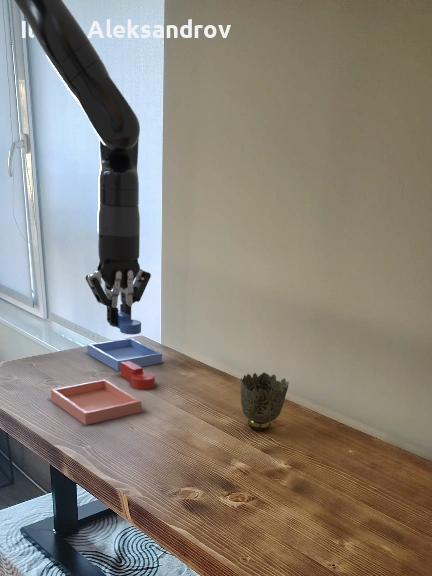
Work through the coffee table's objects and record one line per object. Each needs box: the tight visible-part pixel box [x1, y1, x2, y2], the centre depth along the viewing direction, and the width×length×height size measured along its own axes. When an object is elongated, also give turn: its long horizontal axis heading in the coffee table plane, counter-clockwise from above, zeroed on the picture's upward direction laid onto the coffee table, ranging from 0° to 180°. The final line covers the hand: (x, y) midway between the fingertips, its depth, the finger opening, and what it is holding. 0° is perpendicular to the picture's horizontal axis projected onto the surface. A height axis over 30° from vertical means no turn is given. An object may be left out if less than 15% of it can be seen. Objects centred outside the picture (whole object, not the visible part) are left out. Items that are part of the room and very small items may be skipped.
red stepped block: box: [120, 361, 156, 390], centre depth 113 cm, size 8×4×3 cm, turn 40°
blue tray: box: [87, 337, 163, 372], centre depth 124 cm, size 11×10×2 cm
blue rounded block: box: [116, 309, 142, 335], centre depth 121 cm, size 8×4×3 cm, turn 40°
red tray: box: [50, 378, 142, 426], centre depth 102 cm, size 11×10×2 cm
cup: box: [240, 372, 290, 432], centre depth 98 cm, size 8×7×8 cm
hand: (119, 324), depth 122 cm, fingers closed on blue rounded block, 2 cm apart
